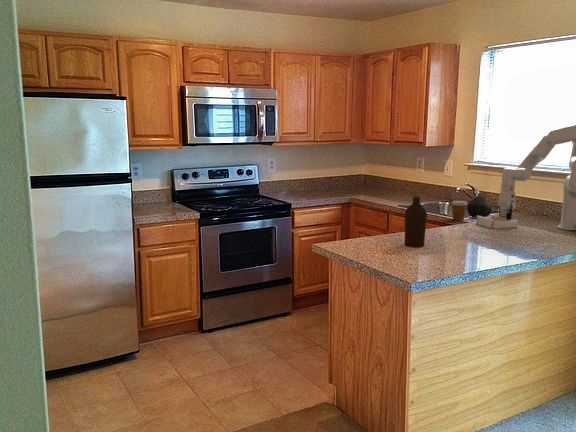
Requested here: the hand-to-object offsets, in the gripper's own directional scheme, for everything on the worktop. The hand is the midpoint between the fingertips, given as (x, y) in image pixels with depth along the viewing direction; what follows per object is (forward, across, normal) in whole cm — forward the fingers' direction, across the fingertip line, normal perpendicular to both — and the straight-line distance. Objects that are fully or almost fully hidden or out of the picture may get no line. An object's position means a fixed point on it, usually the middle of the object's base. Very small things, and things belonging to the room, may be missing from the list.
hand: (505, 218), depth 308 cm
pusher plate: (+4, 0, +5) cm, 6 cm away
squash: (+5, +30, -2) cm, 30 cm away
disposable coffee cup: (+5, +22, +18) cm, 29 cm away
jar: (+2, 0, 0) cm, 2 cm away
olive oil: (+5, -38, +80) cm, 89 cm away
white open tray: (+4, 0, +6) cm, 7 cm away
